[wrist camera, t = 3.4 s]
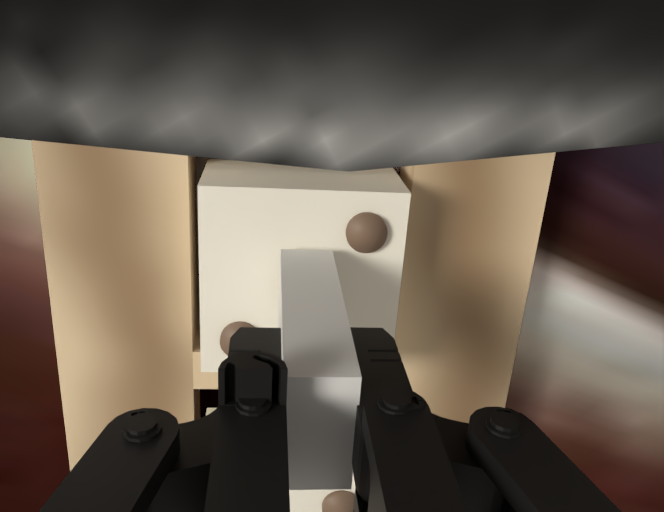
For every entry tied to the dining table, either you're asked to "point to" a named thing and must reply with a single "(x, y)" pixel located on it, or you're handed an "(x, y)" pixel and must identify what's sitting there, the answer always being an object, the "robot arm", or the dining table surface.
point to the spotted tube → (334, 78)
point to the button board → (182, 280)
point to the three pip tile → (295, 243)
